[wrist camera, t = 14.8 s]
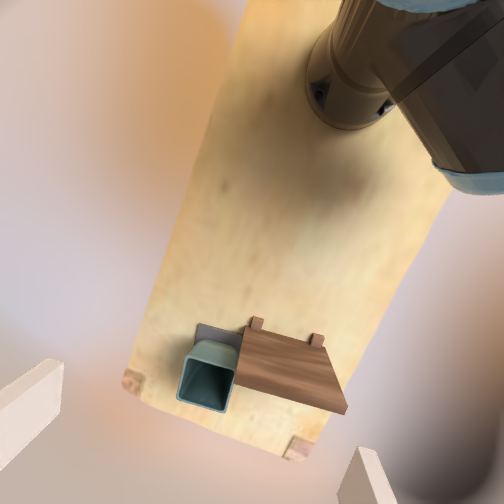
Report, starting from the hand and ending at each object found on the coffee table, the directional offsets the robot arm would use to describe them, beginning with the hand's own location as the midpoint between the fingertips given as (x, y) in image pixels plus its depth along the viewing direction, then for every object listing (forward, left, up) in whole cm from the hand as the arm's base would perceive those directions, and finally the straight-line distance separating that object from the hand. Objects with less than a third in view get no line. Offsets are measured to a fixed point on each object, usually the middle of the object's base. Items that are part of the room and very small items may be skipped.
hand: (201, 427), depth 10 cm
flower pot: (+21, -2, -34) cm, 40 cm away
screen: (+14, +10, -34) cm, 38 cm away
